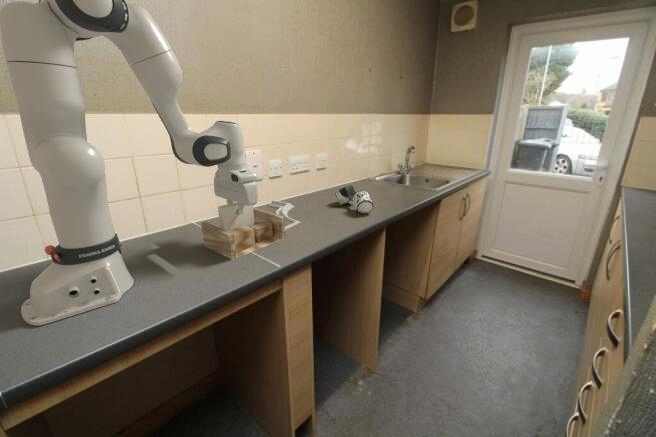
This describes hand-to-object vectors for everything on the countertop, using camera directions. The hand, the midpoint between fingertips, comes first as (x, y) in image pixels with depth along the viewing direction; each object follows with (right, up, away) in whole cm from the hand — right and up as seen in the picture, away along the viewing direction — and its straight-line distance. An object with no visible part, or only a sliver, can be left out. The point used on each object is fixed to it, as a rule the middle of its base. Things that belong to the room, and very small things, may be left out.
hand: (236, 212), depth 106 cm
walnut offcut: (+8, -9, +3) cm, 12 cm away
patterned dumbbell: (+44, +2, +42) cm, 60 cm away
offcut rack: (+3, -11, +1) cm, 12 cm away
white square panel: (0, -9, +3) cm, 10 cm away
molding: (+10, -2, +30) cm, 32 cm away
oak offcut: (+2, -11, -4) cm, 12 cm away
